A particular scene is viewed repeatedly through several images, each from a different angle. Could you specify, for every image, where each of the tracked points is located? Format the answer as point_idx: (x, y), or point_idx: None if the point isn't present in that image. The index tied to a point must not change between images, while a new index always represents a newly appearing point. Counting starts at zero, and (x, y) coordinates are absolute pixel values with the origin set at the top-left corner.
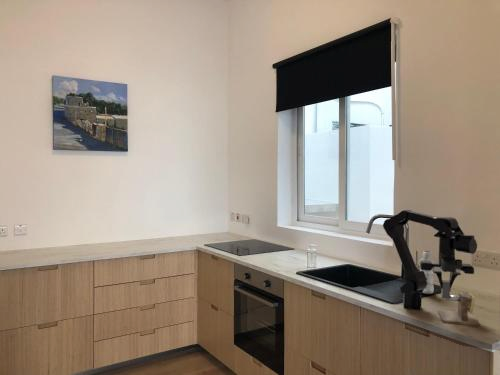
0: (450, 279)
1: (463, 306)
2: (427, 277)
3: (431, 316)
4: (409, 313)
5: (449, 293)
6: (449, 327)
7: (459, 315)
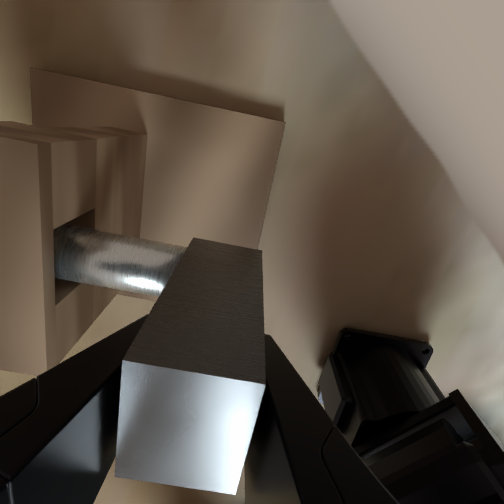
0: (74, 452)
1: (87, 136)
2: None
3: (314, 229)
4: (436, 264)
5: (180, 260)
6: (271, 8)
7: (138, 218)
